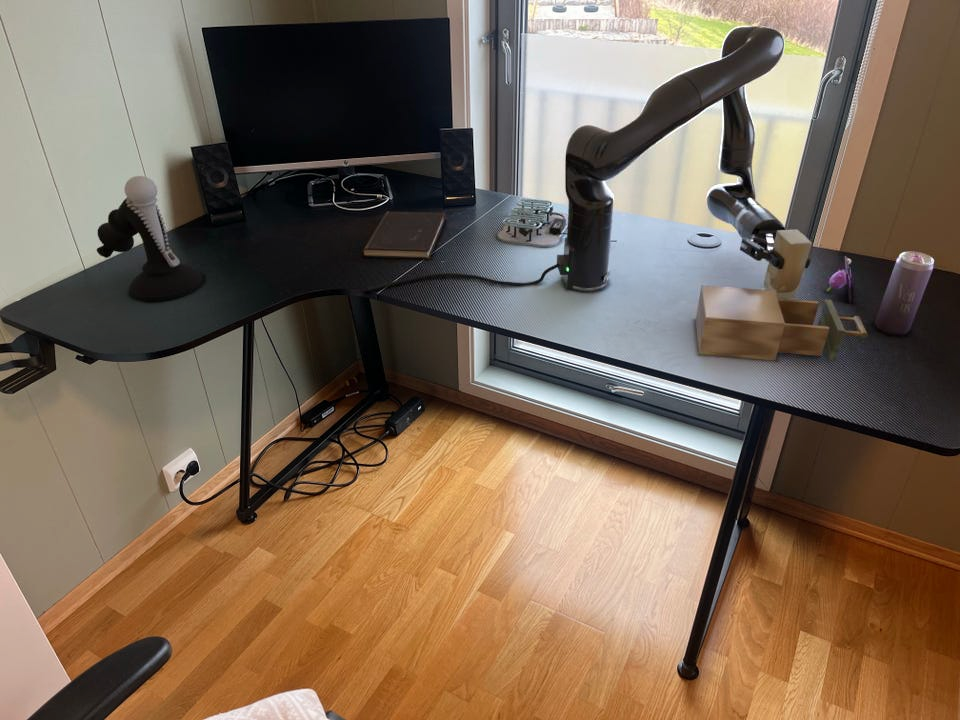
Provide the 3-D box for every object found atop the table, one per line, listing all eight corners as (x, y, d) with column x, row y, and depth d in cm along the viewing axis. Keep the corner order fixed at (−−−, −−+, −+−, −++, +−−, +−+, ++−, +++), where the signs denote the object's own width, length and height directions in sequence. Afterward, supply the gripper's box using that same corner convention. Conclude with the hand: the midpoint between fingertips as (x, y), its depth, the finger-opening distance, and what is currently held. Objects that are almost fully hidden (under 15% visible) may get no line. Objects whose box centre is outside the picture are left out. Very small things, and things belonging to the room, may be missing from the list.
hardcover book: (445, 221, 183) (444, 212, 182) (429, 259, 165) (428, 250, 163) (385, 219, 185) (385, 211, 184) (363, 257, 166) (362, 248, 165)
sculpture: (172, 306, 148) (137, 193, 134) (84, 290, 155) (43, 181, 141) (216, 274, 160) (188, 167, 146) (133, 261, 167) (99, 158, 153)
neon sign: (614, 238, 162) (493, 225, 170) (612, 255, 164) (493, 241, 172) (627, 205, 178) (517, 194, 186) (626, 221, 181) (517, 209, 189)
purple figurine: (852, 273, 140) (850, 255, 147) (823, 277, 142) (823, 259, 149) (855, 302, 143) (853, 283, 150) (827, 306, 145) (826, 287, 152)
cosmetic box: (761, 285, 142) (775, 229, 135) (782, 284, 142) (797, 228, 135) (775, 300, 137) (790, 243, 130) (796, 299, 137) (813, 242, 130)
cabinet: (766, 325, 137) (774, 290, 132) (775, 360, 127) (785, 323, 122) (695, 320, 139) (701, 285, 135) (699, 354, 129) (706, 317, 125)
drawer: (849, 330, 133) (859, 301, 130) (864, 362, 124) (875, 333, 121) (755, 322, 136) (762, 294, 133) (763, 354, 127) (770, 324, 124)
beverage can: (908, 324, 136) (934, 254, 128) (909, 339, 132) (936, 267, 123) (874, 318, 138) (898, 248, 130) (874, 332, 134) (899, 261, 125)
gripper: (729, 212, 144) (762, 247, 130) (796, 210, 145) (836, 245, 131) (722, 245, 149) (753, 283, 135) (787, 243, 149) (825, 280, 135)
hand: (794, 264), depth 133 cm, fingers closed on cosmetic box, 4 cm apart
